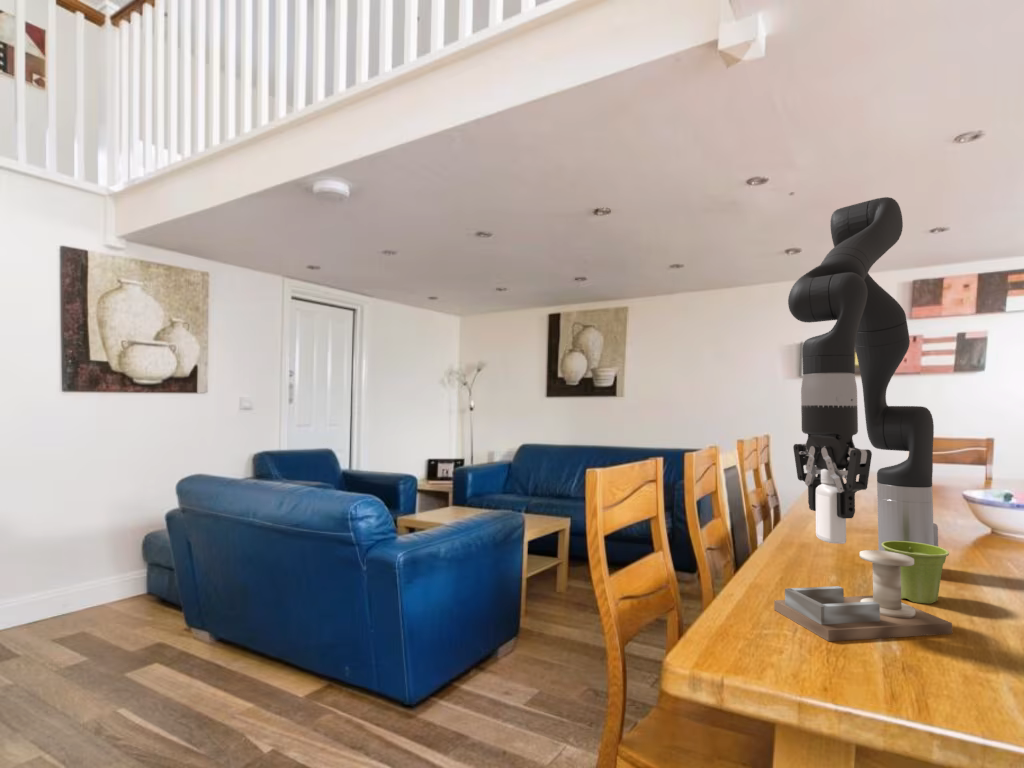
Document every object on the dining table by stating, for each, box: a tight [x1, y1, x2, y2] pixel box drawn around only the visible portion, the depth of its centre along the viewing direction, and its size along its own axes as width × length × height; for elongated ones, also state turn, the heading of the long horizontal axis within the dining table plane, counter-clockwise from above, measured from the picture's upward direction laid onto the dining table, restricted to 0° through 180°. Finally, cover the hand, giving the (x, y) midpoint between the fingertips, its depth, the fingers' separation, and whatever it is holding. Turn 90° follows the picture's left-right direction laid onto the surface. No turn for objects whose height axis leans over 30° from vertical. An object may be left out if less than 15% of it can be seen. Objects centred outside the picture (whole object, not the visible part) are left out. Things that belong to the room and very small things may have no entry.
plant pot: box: [882, 541, 950, 605], centre depth 94 cm, size 9×9×9 cm
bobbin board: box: [773, 549, 953, 642], centre depth 84 cm, size 20×12×10 cm, turn 99°
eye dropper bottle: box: [815, 468, 847, 545], centre depth 84 cm, size 4×6×12 cm
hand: (830, 513), depth 84 cm, fingers closed on eye dropper bottle, 5 cm apart
